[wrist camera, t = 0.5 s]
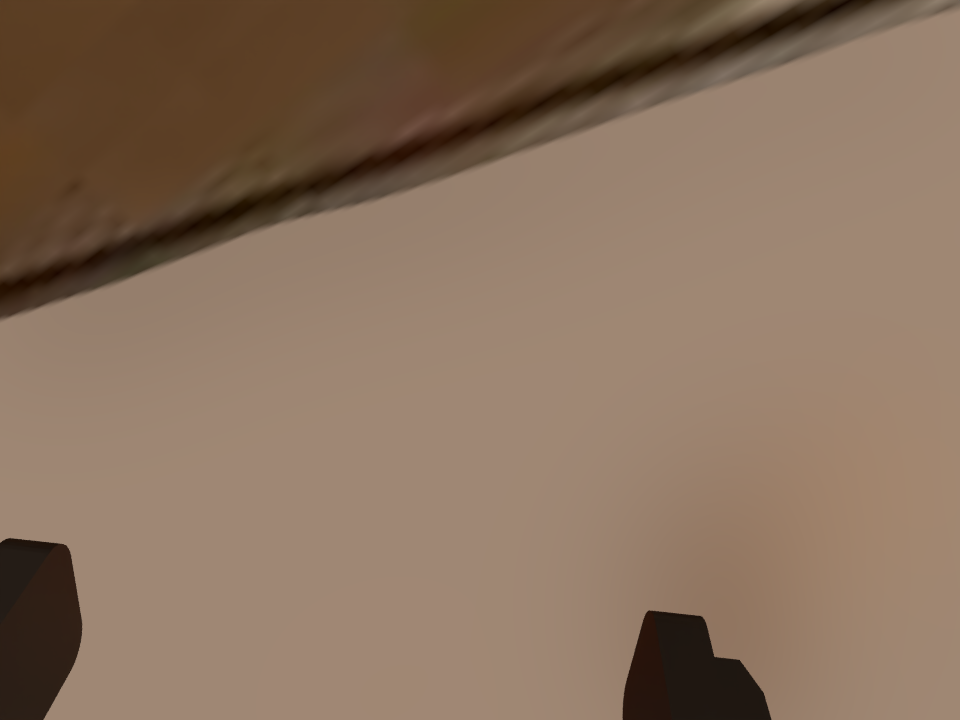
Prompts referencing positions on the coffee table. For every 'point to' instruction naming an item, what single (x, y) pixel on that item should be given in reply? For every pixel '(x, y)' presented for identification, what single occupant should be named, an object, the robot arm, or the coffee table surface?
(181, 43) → the coffee table surface
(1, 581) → the robot arm
